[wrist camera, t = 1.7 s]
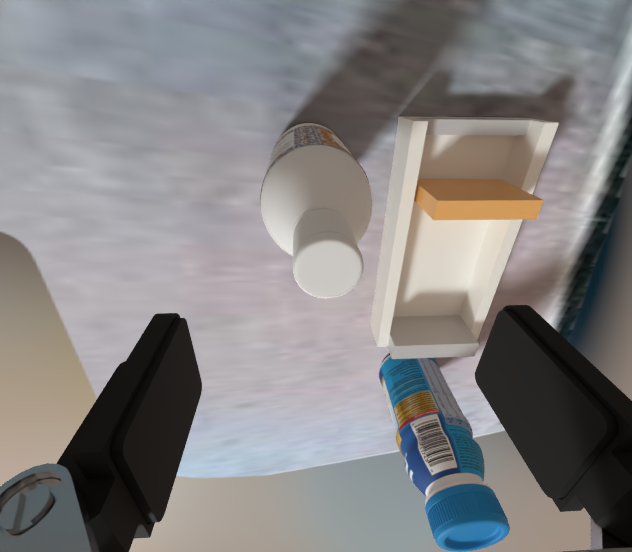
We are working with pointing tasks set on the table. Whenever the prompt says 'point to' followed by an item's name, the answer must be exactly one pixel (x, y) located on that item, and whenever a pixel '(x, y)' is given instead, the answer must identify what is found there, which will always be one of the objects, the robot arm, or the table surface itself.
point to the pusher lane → (448, 232)
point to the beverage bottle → (441, 455)
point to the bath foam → (317, 208)
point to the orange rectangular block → (475, 200)
